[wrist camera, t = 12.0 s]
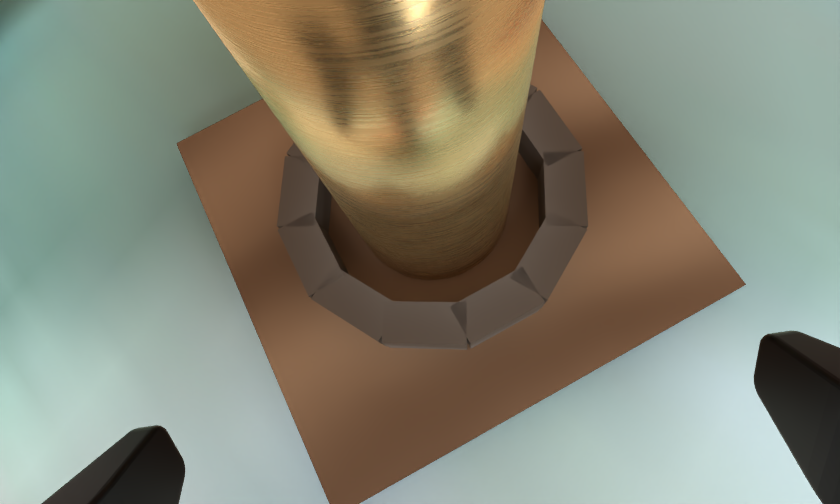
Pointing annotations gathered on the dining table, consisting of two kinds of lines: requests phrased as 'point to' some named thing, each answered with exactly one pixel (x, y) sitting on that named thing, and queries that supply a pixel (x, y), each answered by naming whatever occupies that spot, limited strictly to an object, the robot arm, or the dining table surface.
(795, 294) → the dining table surface
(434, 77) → the brass roller
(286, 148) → the collar plate
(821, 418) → the robot arm
